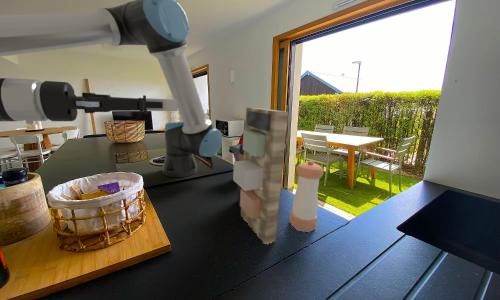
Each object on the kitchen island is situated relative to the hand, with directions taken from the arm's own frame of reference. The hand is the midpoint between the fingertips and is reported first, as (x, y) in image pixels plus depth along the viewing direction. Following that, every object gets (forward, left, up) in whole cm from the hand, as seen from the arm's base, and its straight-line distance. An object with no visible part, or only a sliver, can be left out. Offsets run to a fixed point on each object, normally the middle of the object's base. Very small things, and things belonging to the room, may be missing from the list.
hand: (176, 105), depth 49 cm
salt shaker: (+15, +31, -32) cm, 47 cm away
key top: (+11, +17, -10) cm, 23 cm away
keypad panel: (+11, +18, -32) cm, 38 cm away
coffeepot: (-20, +30, -32) cm, 48 cm away
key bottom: (+11, +17, -26) cm, 33 cm away
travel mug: (-2, +22, -32) cm, 39 cm away
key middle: (+11, +15, -18) cm, 26 cm away
